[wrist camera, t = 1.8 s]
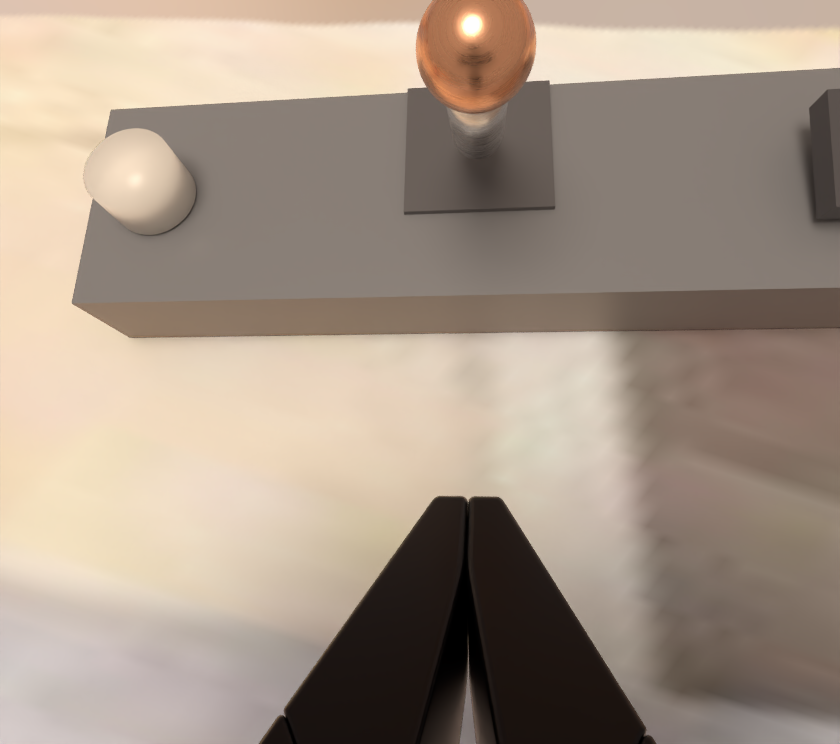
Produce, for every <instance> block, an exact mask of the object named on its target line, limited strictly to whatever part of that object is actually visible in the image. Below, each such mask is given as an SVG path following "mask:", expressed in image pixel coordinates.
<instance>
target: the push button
mask: <svg viewBox="0 0 840 744" xmlns="http://www.w3.org/2000/svg"><path fill="white" fill-rule="evenodd" d="M83 180H84V185H85V188H86V190H87V192H88V193H89V195H90V196H91V197H92V198H93V199H94V200H95V201H96V202H98V203H99V204H100V205H101V206H102V207H103V208H104V209H105V210H107V211H108V212H109V213H110V214H111V215H112V216H113V217H114V218H116V219H117V220H118V221H119V222H120V223H121V224H122V225H123V226H125V227H126V228H127V229H129V230H130V231H132V232H134V233H137V234H142V235H155V234H160V233H163V232H166V231H168V230H170V229H172V228H173V227H175V226H176V225H178V224H179V223H180V222H181V221H182V220H183V219H184V218H185V217H186V216H187V215H188V213H189V212H190V210H191V208H192V206H193V204H194V201H195V197H196V185H195V181H194V179H193V177H192V175H191V174H190V172H189V171H188V170H187V169H186V167H185V166H184V165H183V164H182V162H181V161H180V160H179V159H178V157H177V156H176V155H175V154H174V152H173V151H172V150H171V148H170V147H169V146H168V145H167V143H166V142H165V141H164V140H163V139H162V138H161V137H160V136H159V135H158V134H156V133H155V132H152V131H150V130H146V129H141V128H132V129H126V130H122V131H119V132H116V133H114V134H112V135H110V136H108V137H107V138H105V139H104V140H103V141H101V142H100V143H99V144H98V145H97V146H96V147H95V148H94V150H93V151H92V152H91V154H90V155H89V157H88V159H87V161H86V164H85V167H84V173H83Z"/></svg>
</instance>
